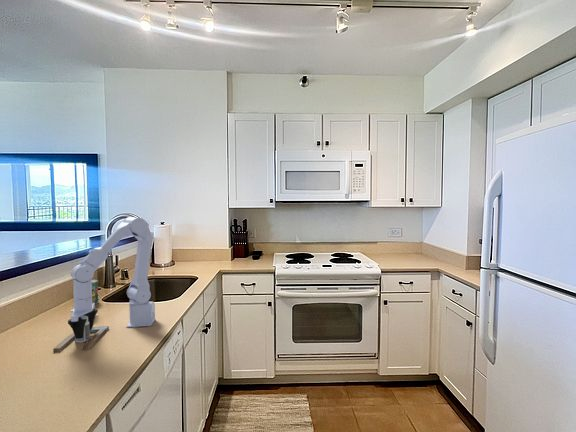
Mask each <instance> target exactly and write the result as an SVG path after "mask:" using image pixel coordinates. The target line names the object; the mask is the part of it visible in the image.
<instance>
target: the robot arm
mask: <svg viewBox="0 0 576 432" xmlns="http://www.w3.org/2000/svg"><path fill="white" fill-rule="evenodd" d="M130 236H133V237H134V238H135V239H136V240H137V242H138V243H137V248H136V256H135V262H134V263H135V265H134V271H133V272H134V273H133V278H132V279H131V281H130V284H129V287H128V288H127V290H126V295H127V298H128V299H129V303H128V306H129V322H128V324H127V325H126V328H136V327H138V328H139V327H151V326H152V325H153V324H154V322H155V320H156V305H155V302H154V301H149V300H150V299H151V296H152V293H151V290H150V287H151V286H150V283H149V280H148V278H149V277H148V275H149V270H150V268H149V267H150V260H151V253H152V246H153V234H152V232H151V230H150V225H149V223H148V222H147V221H146V220H145V219H144V218H143V217H142V218H141V217H133V216H128V217H126V218H124V220H123V221H122V222H120V223H119V224H118V225H117V227H116V228H115V229H114V231H113V232H111V234H110V235H109V236H108V237H107V239H106V240H105V241H104V242H103V243H102V244H101V246H100V247H94V248H93V249H90V250H89V251H88V255H86V256H85V257H84V259H83V260H80V261H79V262H78V263H79V264H78V265H77V264H76V265H75V266H74V267H73V268H72V269H71V272H70V276H71V277H72V279H73V281H72V282H73V283H72V284H73V286H72V287H73V291H72V292H73V309H71V310H70V313H72V315H71V316H70V319H69V320H67V324H68V325H69V326H70V328H71V329H72V333H73V332H74V335H75V338H76V339H80V338H83V335H84V327H85V323H86V321H87V319H82V318H81V317H82V316H88V321H89V324H90V330H92V327H94V322H95V318H96V316H97V315H96V313H97V314H98V313H99V312H98V311H99V309H98V308H96V304H95V303H92V284H91V280H92V279H93V277H94V275H95V271H96V270H97V269H99V268H100V266H101V265H102V264H103V263H104V262H105V261H106V260H107V259H108V257H109V256H108V255H109V254H108V253H109V252H110V251H111V250H112V249H113V248H114V247H115V246H116V245H117V244H118V243H119V242H120V241H121V240H122V239H124V238H125V237H130ZM94 308H95V309H94Z"/></svg>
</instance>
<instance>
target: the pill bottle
mask: <svg viewBox="0 0 576 432" xmlns="http://www.w3.org/2000/svg"><path fill="white" fill-rule="evenodd" d="M81 318H82V319H87V321H86V323H85V327H84V335H83V338H80V339H76V338H75V339H74V342H75V343H84V342H85V343H86V342H88V341H89V340H90V339H91V333H90V324H89V321H88V316H82V317H81Z"/></svg>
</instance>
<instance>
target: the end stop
mask: <svg viewBox="0 0 576 432" xmlns="http://www.w3.org/2000/svg"><path fill="white" fill-rule="evenodd" d="M100 329H106V332H107V331H108V330H109V325H103V326H93V327H92V330H90V334H96V333H97V332H98V331H99V330H100Z"/></svg>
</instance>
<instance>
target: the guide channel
mask: <svg viewBox="0 0 576 432" xmlns="http://www.w3.org/2000/svg"><path fill="white" fill-rule="evenodd" d="M105 333H107V331H106V329H100V330H99V331H98V332H97V333H94V335H93V336H91V337H90V339H89V340H87V341H86V342H85V344H84V345H82V348H81V349H82V351H87V350H90V349H91V348H92V347H93V346H94V345H95V344H96V343H97V342H98V341H99V340H100V338H102V337H103V336H104V334H105ZM73 341H75V335H74V332H73V331H72V332H71V333H70V334H69V335H68V336H67V337H65V338H64V339H63V340H62V341H60V343H58V344H57V345H56V346H54V347H53V348H52V350H53V352H52V353H60V352H61V351H62V350H63V349H65V347H67V346H69V344H71V342H73Z"/></svg>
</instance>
